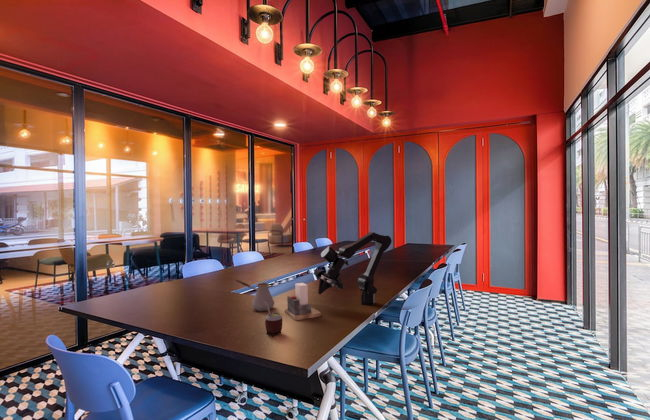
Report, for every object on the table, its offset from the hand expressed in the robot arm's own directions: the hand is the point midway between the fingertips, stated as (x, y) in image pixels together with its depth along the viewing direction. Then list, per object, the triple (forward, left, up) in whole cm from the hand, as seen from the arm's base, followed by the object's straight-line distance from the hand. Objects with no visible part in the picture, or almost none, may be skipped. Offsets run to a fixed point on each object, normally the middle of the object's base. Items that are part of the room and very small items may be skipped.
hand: (319, 294), depth 172 cm
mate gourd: (+5, +35, -9) cm, 37 cm away
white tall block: (+6, +7, -7) cm, 12 cm away
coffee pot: (+34, +7, -9) cm, 36 cm away
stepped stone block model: (+6, +7, -9) cm, 13 cm away
